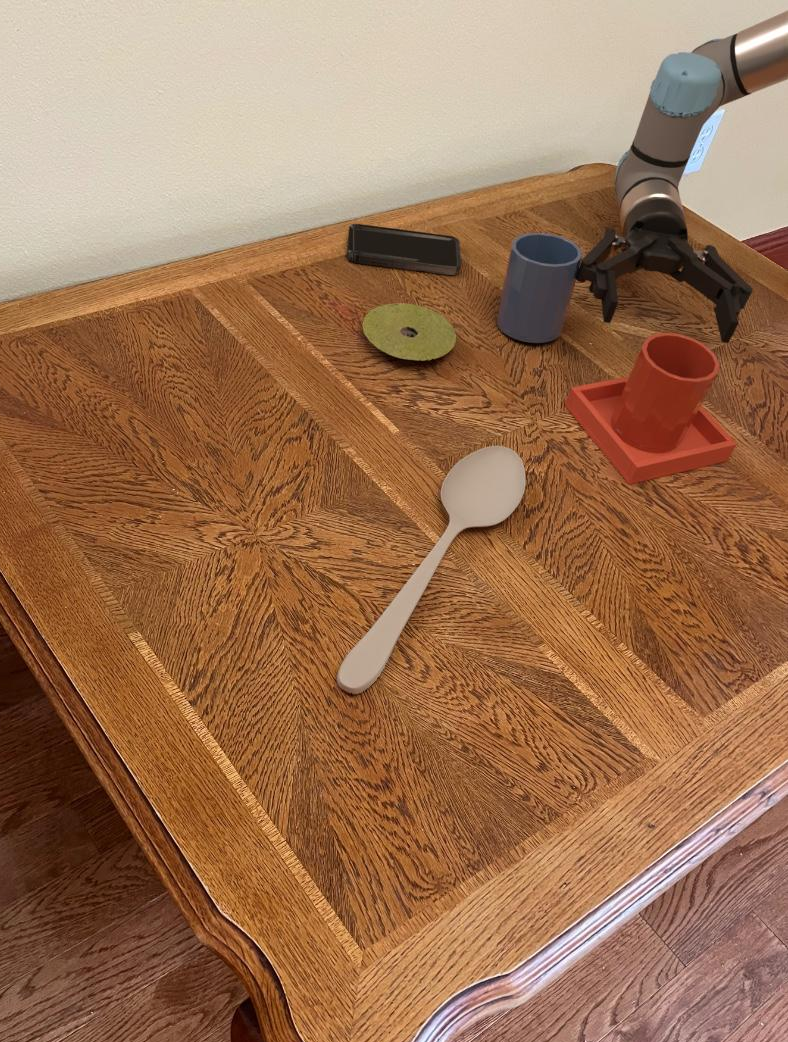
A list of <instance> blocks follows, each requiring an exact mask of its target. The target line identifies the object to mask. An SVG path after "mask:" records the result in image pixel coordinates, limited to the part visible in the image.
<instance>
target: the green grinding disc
mask: <svg viewBox="0 0 788 1042" xmlns="http://www.w3.org/2000/svg"><path fill="white" fill-rule="evenodd" d="M362 330H363V334H364V336H365V337H366V338H367V340H368V341H369V342H370V343H371V344H372V345H373V346H374V347H375V348H376V349H378V350H380V351H381V352H383V353H386V354H387V355H389V356H392V357H394V358H398V359H402V360H407V361H408V360H409V361H417V362H419V361H424V362H425V361H432V359H433V360H436V359H439V358H441V357H444V356H445V355H447V354H448V353H449V352H450V351H451V350H452V349H453V348H454V347H455V345H456V342H457V334H456V330H455V329H454V326H453V325H452V324H451V323H450V321H449V320H448V319H447V318H445V317H444V316H443V315H442V314H441V313H438V312H437V311H435V310H434V309H430V308H428V307H426V306H422V305H419V304H413V303H406V302H405V303H404V302H399V303H397V302H396V303H386V304H383V305H379V306H377V307H374V308H372V309H371V310H370V311H369V312H367V314H366V315H365V316H364V318H363V321H362Z"/></svg>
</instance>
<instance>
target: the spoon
mask: <svg viewBox="0 0 788 1042" xmlns="http://www.w3.org/2000/svg"><path fill="white" fill-rule="evenodd" d="M526 480H527V479H526V469H525V465H524V462H523V461H522V458H521V457H520V455H519V454H518V452H516V450H515V451H514V450H513V449H512V448H509V447H507V446H504V445H492V446H485V447H483V448H479V449H478V450H475V451H473V452H471V453H469V454H468V455H466V456H464V457H463V458H461V459H460V460H459V461H457V462H456V463H455V464H454V465H453V466H452V467H451V469H450V470H449V471H448V473H447V474H446V476H445V478H444V479H443V482H442V485H441V488H440V499H441V503H442V506H443V507H444V509H445V511H446V512H447V514H448V516H449V521H448V525H447V527H446V528H445V531H444V532H443V533H442V535H441V537H440V538H439V540H438V541H437V542H436V544H435V545H434V546H433V547H432V548H431V550H430V552H429V553H428V554H427V555H426V556H425V558H424V559H423V560H422V562H421V563H420V565H419V566H418V567H417V568H416V570H414V572H413V573H412V575H411V576H410V577H409V579H408V580H407V582H406V583H405V584H404V586H402V588H401V589H400V590H399V592H398V593H397V594H396V596H395V597H394V598H393V600H392V601H391V602H390V603H389V605H388V606H387V608H386V609H385V610H384V611H383V613H382V614H381V615H380V616H379V617H378V619H377V620H376V621H375V622H374V623H373V625H372V626H371V628H370V629H369V630H368V631H367V632H366V633H365V634H364V636H362V638H360V640H359V641H358V642H357V643H356V644H355V645H354V646H353V647H352V648H351V650H350V651H349V652H348V653H347V654H346V655H345V657H344V659H343V660H342V661H341V664H340V665H339V668H338V671H337V674H336V683H337V686H338V687H339V688H340V689H341V690H343V691H344V692H346V693H348V694H351V693H352V694H351V695H359V694H358V693H360V694H362V693H364V692H366V691H367V690H368V689H370V688H371V687H372V686H373V685H374V684H375V683H376V682H377V680H378V679H379V678H380V677H381V675H382V674H381V672H382V670H383V669H384V670H385V668H386V667H385V665H386V666H387V664H388V662H389V660H390V658H391V655H392V653H393V651H394V649H395V646H396V644H397V642H398V641H399V638H400V637H401V635H402V633H403V631H404V628H405V627H406V625H407V623H408V621H409V619H410V617H411V616H412V614H413V612H414V610H415V609H416V607H417V605H418V603H419V601H420V600H421V598H422V597H423V594H424V593H425V591H426V590H427V587H428V585H429V584H430V581H431V580H432V578H433V576H434V574H435V572H436V571H437V569H438V567H439V565H440V563H441V562H442V560H443V558H444V557H445V555H446V553H447V551H448V549H449V548H450V546H451V544H452V542H453V541H454V540H455V539H456V537H457V536H458V535H459V534H460V533H461V532H463V531H464V530H466V529H469V528H470V529H471V528H487V527H493V526H496V525H499V524H500V523H503V522H504V521H506V520H507V519H508V518H509V517H510V516H511V515H512V514H513V513H514V511H516V509H517V507H518V506H519V505H520V503H521V501H522V499H523V496H524V494H525V489H526V484H527V483H526V482H527V481H526ZM389 657H390V658H389ZM388 659H389V660H388ZM386 663H387V664H386ZM384 670H383V671H384ZM382 673H383V672H382ZM380 674H381V675H380ZM379 676H380V677H379ZM378 677H379V678H378ZM377 678H378V679H377ZM375 681H376V682H375ZM374 682H375V683H374ZM373 683H374V684H373ZM372 684H373V685H372ZM371 685H372V686H371ZM370 686H371V687H370ZM369 687H370V688H369ZM367 688H368V689H367ZM366 689H367V690H366ZM365 690H366V691H365ZM363 691H364V692H363ZM361 692H362V693H361Z"/></svg>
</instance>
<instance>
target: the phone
mask: <svg viewBox="0 0 788 1042" xmlns="http://www.w3.org/2000/svg"><path fill="white" fill-rule="evenodd" d="M346 246H347V247H346V259H347V260H348V261H349V262H350V263H355V264H362V265H368V266H369V265H370V266H377V267H384V268H391V269H399V270H407V271H416V272H424V273H431V274H439V275H447V276H457V275H458V274H460V271H461V266H462V256H461V242H460V239H459V238H458V237H456V236H453V235H446V234H438V233H431V232H422V231H415V230H408V229H401V228H392V227H385V226H379V225H369V224H362V223H352V224H350V225H349V227H348V232H347V245H346Z"/></svg>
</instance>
